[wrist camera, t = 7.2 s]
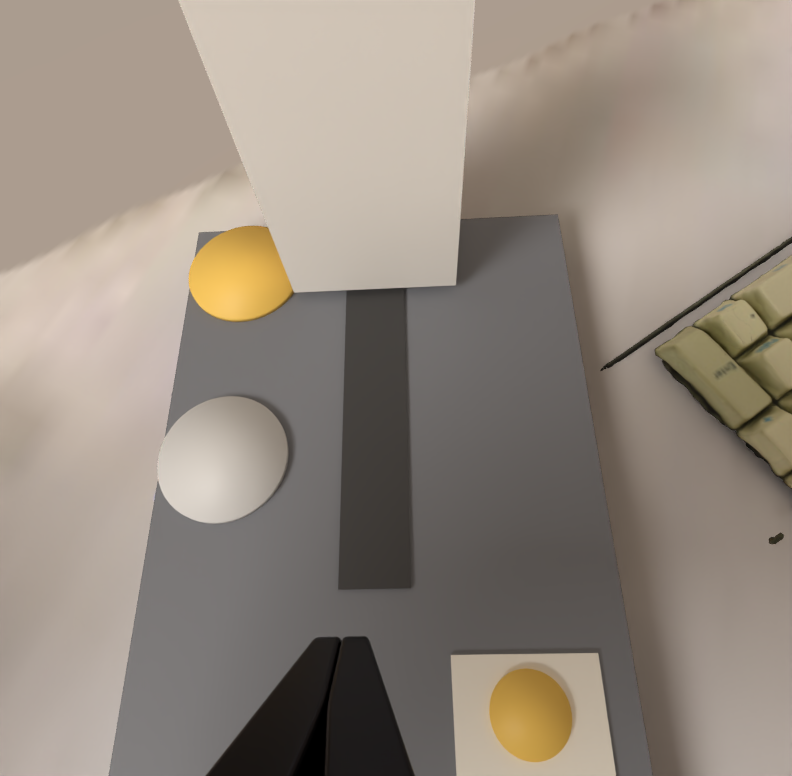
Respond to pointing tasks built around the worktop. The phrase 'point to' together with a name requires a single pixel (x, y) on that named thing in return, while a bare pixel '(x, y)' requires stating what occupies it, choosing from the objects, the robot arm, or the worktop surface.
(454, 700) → the switch panel
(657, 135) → the worktop surface
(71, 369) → the worktop surface
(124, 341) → the worktop surface
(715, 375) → the keyboard
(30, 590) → the worktop surface
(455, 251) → the lever
